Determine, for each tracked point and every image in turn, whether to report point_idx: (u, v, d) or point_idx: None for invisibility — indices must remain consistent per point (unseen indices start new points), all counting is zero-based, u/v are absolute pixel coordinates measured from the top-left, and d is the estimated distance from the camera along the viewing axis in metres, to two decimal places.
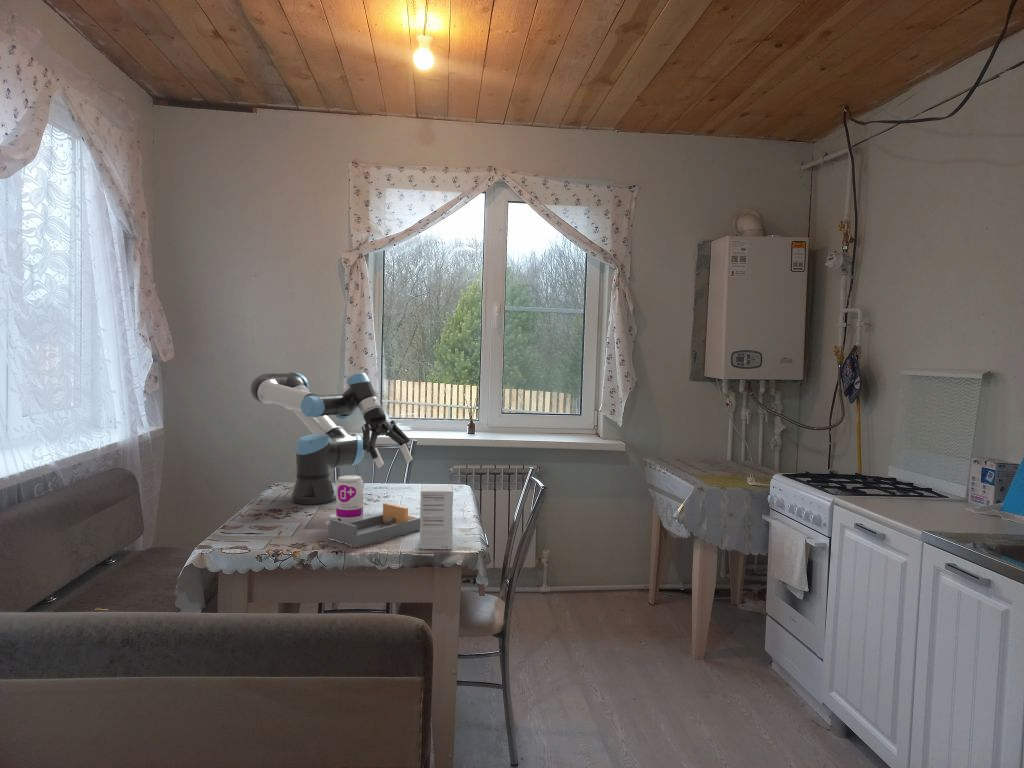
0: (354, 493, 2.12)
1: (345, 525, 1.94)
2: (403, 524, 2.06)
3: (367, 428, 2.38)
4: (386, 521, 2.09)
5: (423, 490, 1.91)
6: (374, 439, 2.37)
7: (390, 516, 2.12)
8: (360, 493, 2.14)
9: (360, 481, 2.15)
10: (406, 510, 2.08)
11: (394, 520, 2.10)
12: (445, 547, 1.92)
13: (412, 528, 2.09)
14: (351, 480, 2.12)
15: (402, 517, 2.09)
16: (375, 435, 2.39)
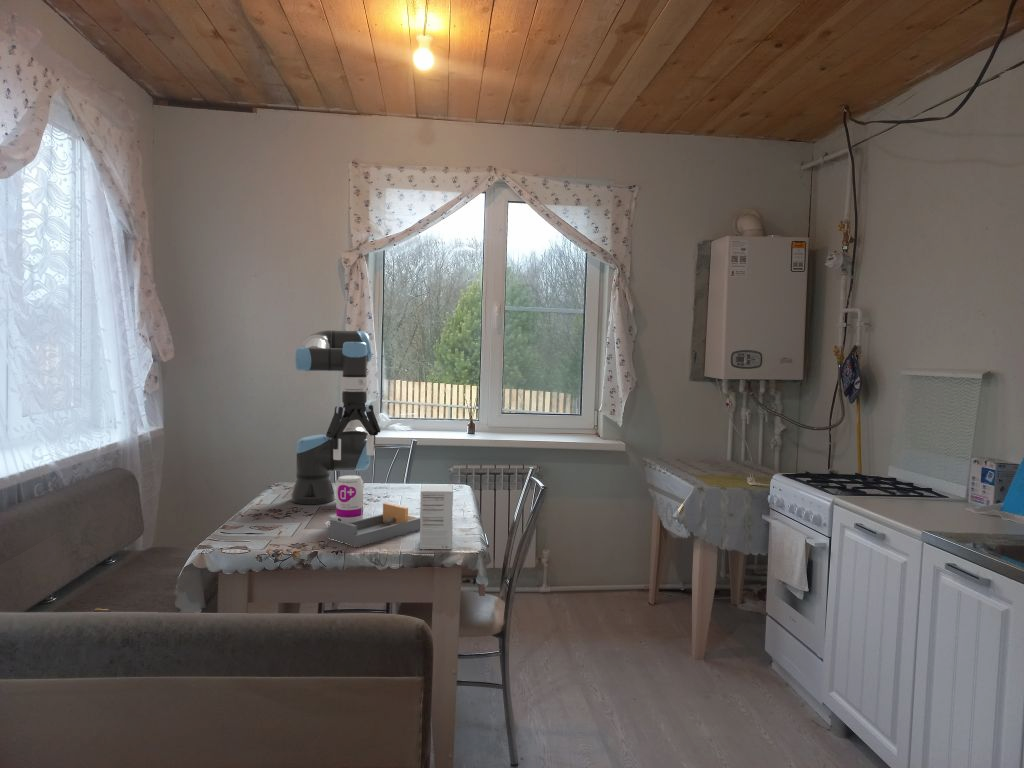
0: (354, 493, 2.12)
1: (345, 525, 1.94)
2: (403, 524, 2.06)
3: (340, 413, 2.10)
4: (386, 521, 2.09)
5: (423, 490, 1.91)
6: (342, 428, 2.11)
7: (390, 516, 2.12)
8: (360, 493, 2.14)
9: (360, 481, 2.15)
10: (406, 510, 2.08)
11: (394, 520, 2.10)
12: (445, 547, 1.92)
13: (412, 528, 2.09)
14: (351, 480, 2.12)
15: (402, 517, 2.09)
16: (345, 423, 2.12)
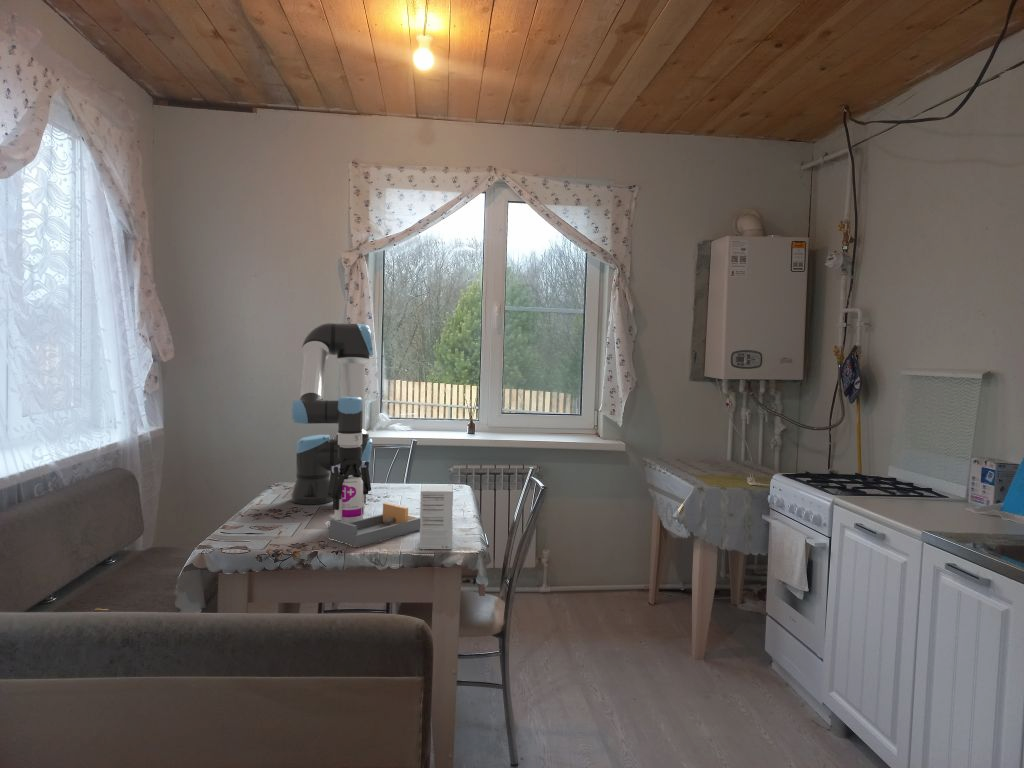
0: (354, 493, 2.12)
1: (345, 525, 1.94)
2: (403, 524, 2.06)
3: (336, 473, 2.10)
4: (386, 521, 2.09)
5: (423, 490, 1.91)
6: (341, 487, 2.12)
7: (390, 516, 2.12)
8: (360, 493, 2.14)
9: (360, 481, 2.14)
10: (406, 510, 2.08)
11: (394, 520, 2.10)
12: (445, 547, 1.92)
13: (412, 528, 2.09)
14: (351, 480, 2.12)
15: (402, 517, 2.09)
16: (343, 481, 2.12)
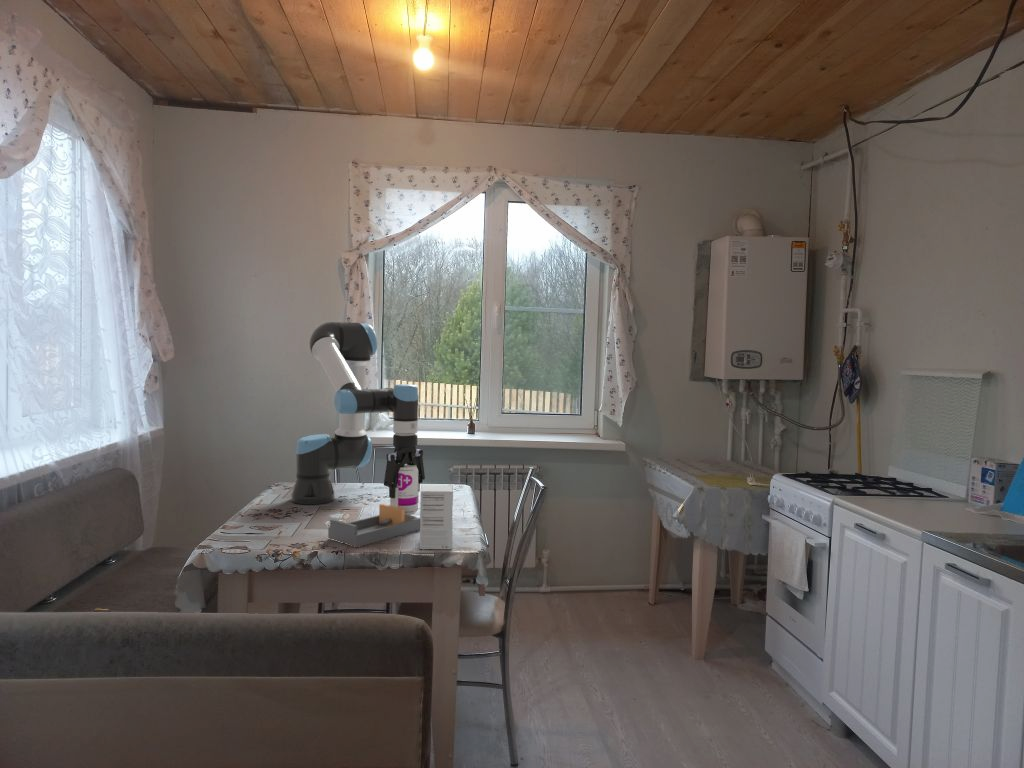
0: (410, 482, 2.11)
1: (345, 525, 1.94)
2: (403, 524, 2.06)
3: (393, 461, 2.08)
4: (382, 522, 2.08)
5: (423, 490, 1.91)
6: (397, 475, 2.10)
7: (386, 517, 2.11)
8: (416, 481, 2.13)
9: (416, 469, 2.13)
10: (402, 511, 2.07)
11: (390, 521, 2.09)
12: (445, 547, 1.92)
13: (412, 528, 2.09)
14: (407, 468, 2.11)
15: (398, 518, 2.08)
16: (399, 469, 2.10)
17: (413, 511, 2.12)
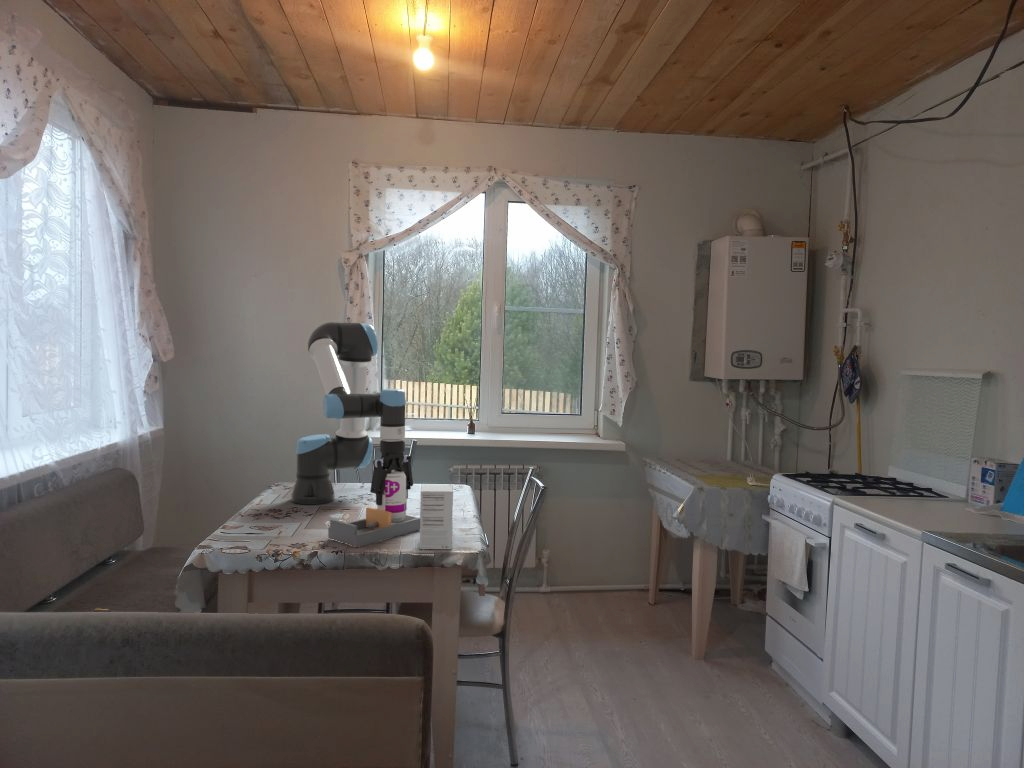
0: (397, 488, 2.06)
1: (345, 525, 1.94)
2: (403, 524, 2.06)
3: (379, 468, 2.04)
4: (369, 526, 2.03)
5: (423, 490, 1.91)
6: (384, 482, 2.06)
7: (373, 520, 2.07)
8: (403, 488, 2.08)
9: (403, 476, 2.08)
10: (389, 514, 2.03)
11: (377, 524, 2.05)
12: (445, 547, 1.92)
13: (412, 528, 2.09)
14: (394, 475, 2.06)
15: (385, 521, 2.03)
16: None
17: (401, 518, 2.08)
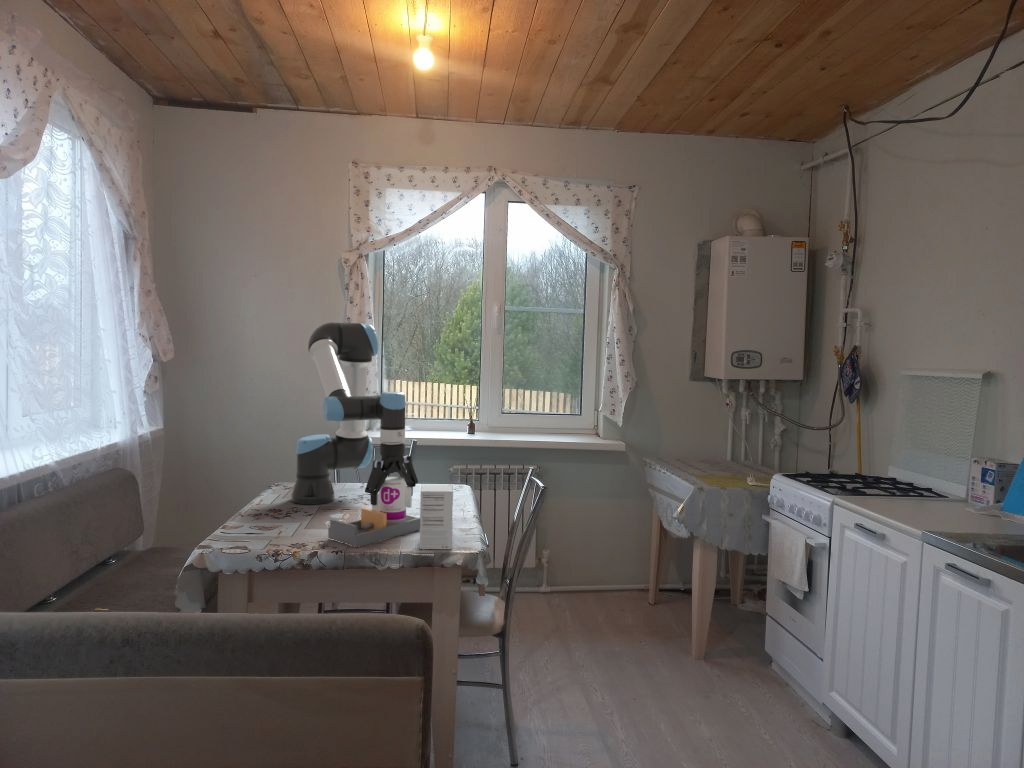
0: (398, 495, 2.07)
1: (345, 525, 1.94)
2: (403, 524, 2.06)
3: (378, 468, 2.04)
4: (364, 527, 2.02)
5: (423, 490, 1.91)
6: (381, 483, 2.05)
7: (368, 522, 2.05)
8: (403, 494, 2.08)
9: (403, 483, 2.09)
10: (384, 515, 2.01)
11: (372, 526, 2.03)
12: (445, 547, 1.92)
13: (412, 528, 2.09)
14: (395, 482, 2.07)
15: (380, 523, 2.02)
16: (384, 477, 2.06)
17: None
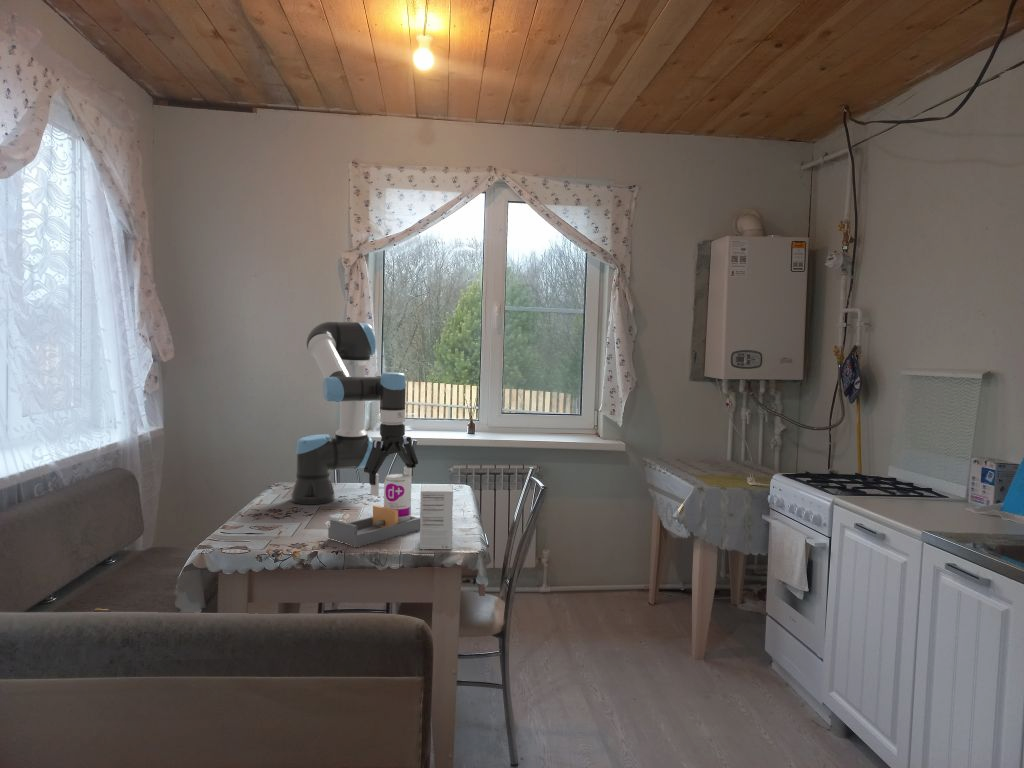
0: (402, 493, 2.08)
1: (345, 525, 1.94)
2: (403, 524, 2.06)
3: (378, 448, 2.03)
4: (376, 524, 2.06)
5: (423, 490, 1.91)
6: (380, 463, 2.04)
7: (380, 519, 2.09)
8: (408, 492, 2.10)
9: (408, 480, 2.10)
10: (396, 513, 2.05)
11: (384, 523, 2.07)
12: (445, 547, 1.92)
13: (412, 528, 2.09)
14: (399, 479, 2.08)
15: (392, 520, 2.06)
16: (383, 457, 2.05)
17: None
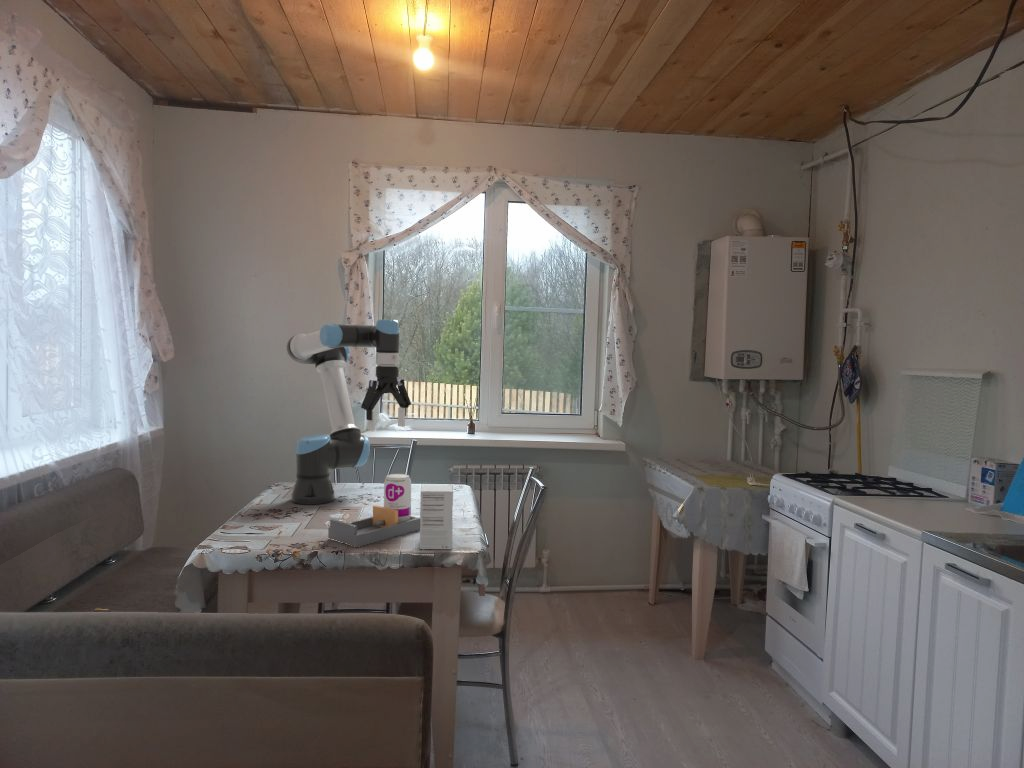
0: (402, 493, 2.08)
1: (345, 525, 1.94)
2: (403, 524, 2.06)
3: (374, 387, 2.24)
4: (376, 524, 2.06)
5: (423, 490, 1.91)
6: (376, 400, 2.25)
7: (380, 519, 2.09)
8: (408, 492, 2.10)
9: (408, 480, 2.10)
10: (396, 513, 2.05)
11: (384, 523, 2.07)
12: (445, 547, 1.92)
13: (412, 528, 2.09)
14: (399, 479, 2.08)
15: (392, 520, 2.06)
16: (379, 396, 2.26)
17: None
